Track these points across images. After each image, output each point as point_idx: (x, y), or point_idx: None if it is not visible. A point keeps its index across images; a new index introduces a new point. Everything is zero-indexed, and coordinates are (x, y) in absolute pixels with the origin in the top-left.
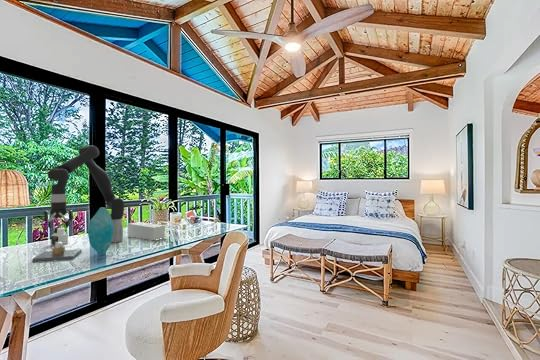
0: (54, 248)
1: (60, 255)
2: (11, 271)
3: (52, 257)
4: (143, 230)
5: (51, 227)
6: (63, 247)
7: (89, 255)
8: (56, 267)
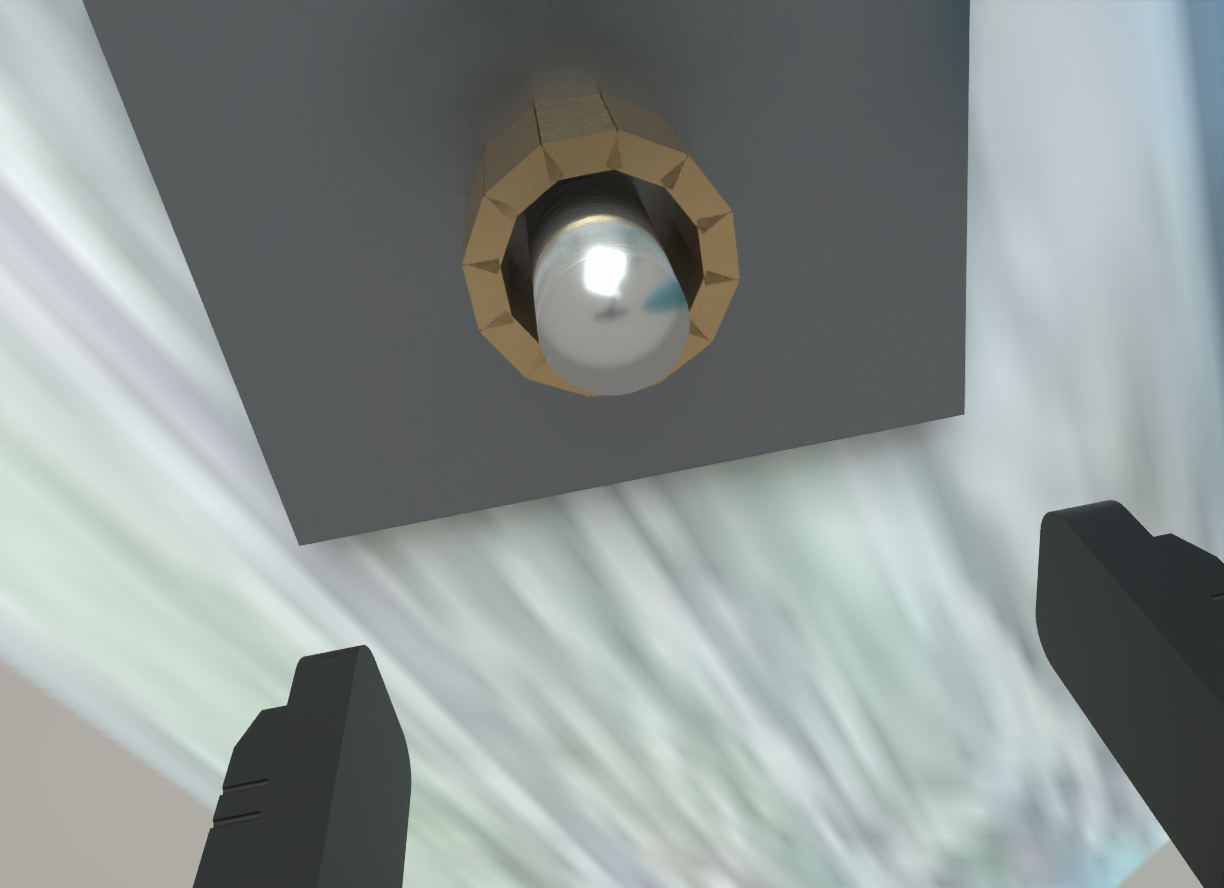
0: (571, 390)
1: (706, 366)
2: None
3: (622, 481)
4: None
5: (379, 683)
6: (733, 290)
7: (1177, 131)
8: (846, 730)
